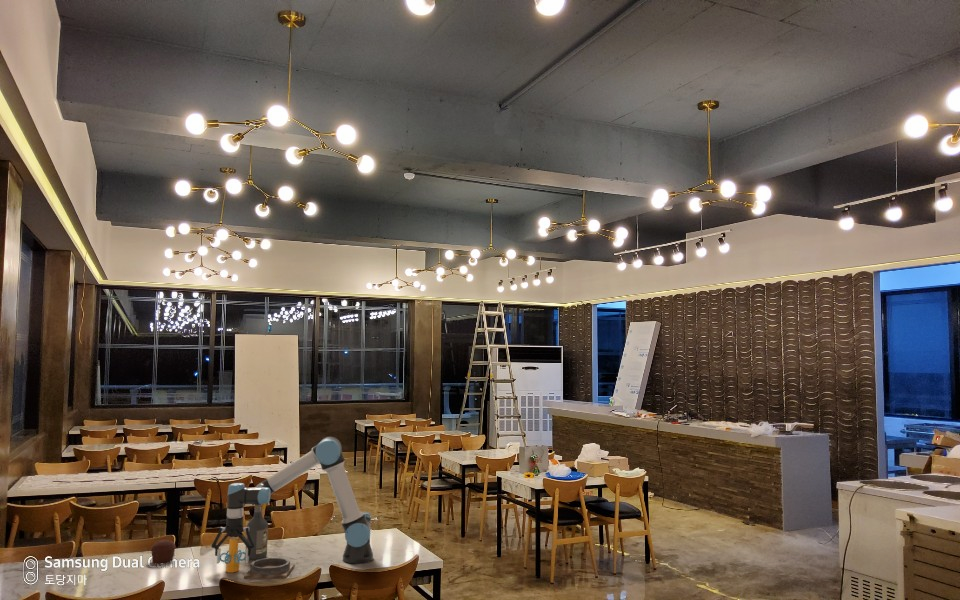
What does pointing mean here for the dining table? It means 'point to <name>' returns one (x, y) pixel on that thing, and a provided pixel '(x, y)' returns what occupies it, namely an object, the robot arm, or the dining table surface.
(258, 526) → the liquor
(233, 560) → the orange post with loops
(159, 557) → the muffin
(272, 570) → the holder
